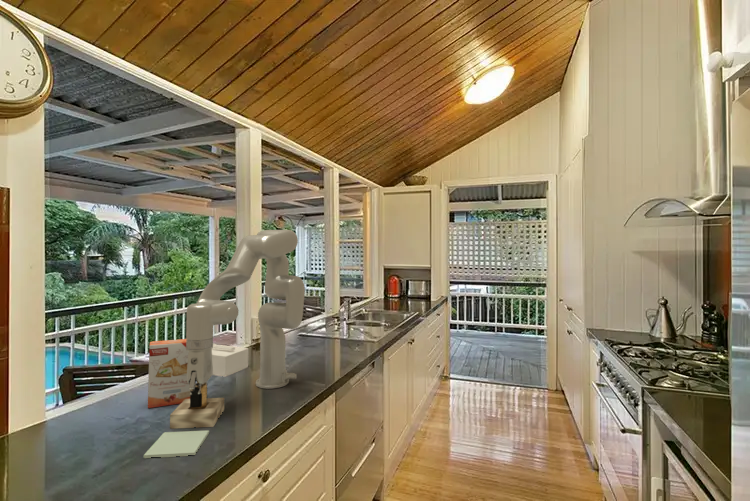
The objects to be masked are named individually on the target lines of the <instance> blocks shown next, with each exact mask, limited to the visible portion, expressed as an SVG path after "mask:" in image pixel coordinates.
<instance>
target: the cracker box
mask: <svg viewBox="0 0 750 501" xmlns="http://www.w3.org/2000/svg"><path fill="white" fill-rule="evenodd" d="M148 347H149V350H148V352H149V354H148V380H147V381H148V382H147V383H148V384H147V387H148V388H147V389H148V390H147V409H152V408H159V407H167V406H172V405H173V406H174V405H180V404H181V403H182V402H183V401H184V400H185V399H190V389H189V384H188V383H187V364H188V353H189V351H187V350H186V338H181V339H180V338H179V339H170V340H169V339H168V340H167V339H165V340H154V341H150V342H149V346H148Z"/></svg>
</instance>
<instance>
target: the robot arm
mask: <svg viewBox="0 0 750 501" xmlns="http://www.w3.org/2000/svg"><path fill="white" fill-rule="evenodd" d="M298 239H299V238H298V235H297V234H296V232H294V231H293V230H291V229H265V230H264V229H263V230H261V231H259V232H258V233H257V234H252V235H249V234H248V235H246V236H244V237H242V238H241V239H240V242H239V244H238V245H237V247H236V249H235V251H234V254H233V255H232V258H231V260H230V261H229V262H228V265H227V267H226V268H225V269H224V270H223V271H222V272H220V273H219V274H218V275H217V276H216V277H214V278H213V279H212V280H211V281H210V282H209V283H208V284H206V286H205V287H204V289H203V290H202V292H201V293H200V296H199V298H198V299H197V301H196V303H192V304H189V305H188V306H187V307H186V326H185V328H186V330H185V331H186V334H185V336H186V337H185V339H186V350H187V351H189V353H188V364H187V383H188V384H189V389H190V407H191V408H192V407H201V406H202V393H201V384H206V385H207V386H208V381H209V380H210V379H211V377H212V376H213V375H212V374H213V365H212V348H213V343H214V326H218V325H228V324H231V323H233V322H234V321H235V320H236V319H237V318H238V316H239V306H237V305H236V304H235V303H234V302H232V301H229V300H220V299H221V297H222V296H223V295H224V294H225V293H228V292H229V291H230V290H231V289H234V288H235V287H238V286H241V285H243V284H245V283H247V282H248V281H250V279H251V278H252V275H253V273H254V270H255V269H256V266H257V264H258V262H259V260H260V259H264V260H265V261H266V272H265V281H264V282H265V283H264V293H265V295H266V297H267V298H270V299H273V300H274V299H275V300H285V301H286V302H285V303H283V302H275V301H273V302H266V303H263V304H262V305H261V306H260V307H259V308H258V312H257V320H258V324H259V332H260V346H259V351H260V354H259V378H258V379H256V380H255V386H256V387H258V388H260V389H265V390H266V389H267V390H268V389H269V390H271V389H279V388H283V387H285V386H287V385H288V384H290V380H297V373H294V372H288V371H287V369H286V343H287V342H286V341H287V339H286V334H285V332H284V329H288V330H294V329H295V330H296V329H297V328H298V327H300V325H301V324H302V321H303V316H304V315H303V314H304V305H305V304H304V303H305V290H306V289H305V282H304V280H303V279H302V278H301V277H300V276H297V275H289V268H290V267H289V266H290V265H289V264H290V262H289V259H288V257H287V254H289V253H291V252H294V251H295V249H296V248H297V247H298V242H299V240H298ZM196 386H198V388H197V387H196Z"/></svg>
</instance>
